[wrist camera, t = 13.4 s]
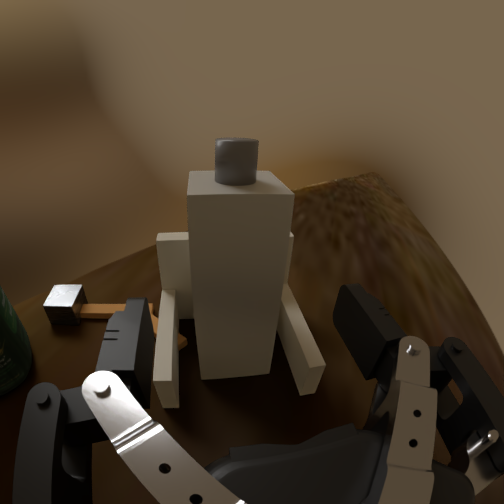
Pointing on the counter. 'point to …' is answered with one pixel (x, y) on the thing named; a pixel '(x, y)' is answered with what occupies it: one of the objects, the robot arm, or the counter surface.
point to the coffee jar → (12, 348)
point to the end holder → (181, 307)
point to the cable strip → (109, 309)
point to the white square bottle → (237, 259)
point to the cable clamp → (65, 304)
